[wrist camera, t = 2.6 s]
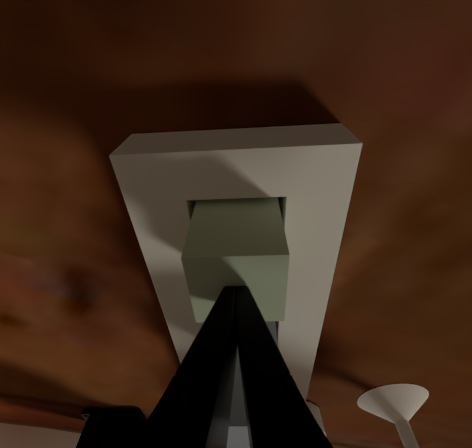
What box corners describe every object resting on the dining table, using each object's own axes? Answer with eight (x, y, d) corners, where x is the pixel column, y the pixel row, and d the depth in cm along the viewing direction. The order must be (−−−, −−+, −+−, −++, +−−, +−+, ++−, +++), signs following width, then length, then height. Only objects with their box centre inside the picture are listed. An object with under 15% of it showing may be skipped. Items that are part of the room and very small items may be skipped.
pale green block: (209, 240, 15) (196, 322, 10) (200, 184, 13) (181, 257, 8) (272, 239, 14) (284, 321, 10) (274, 181, 12) (289, 254, 8)
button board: (199, 376, 25) (195, 407, 23) (131, 133, 12) (109, 155, 10) (299, 375, 24) (304, 407, 22) (340, 123, 11) (362, 143, 9)
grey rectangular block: (218, 351, 17) (210, 453, 13) (212, 317, 15) (201, 426, 11) (272, 350, 17) (283, 453, 13) (274, 316, 15) (287, 426, 11)
